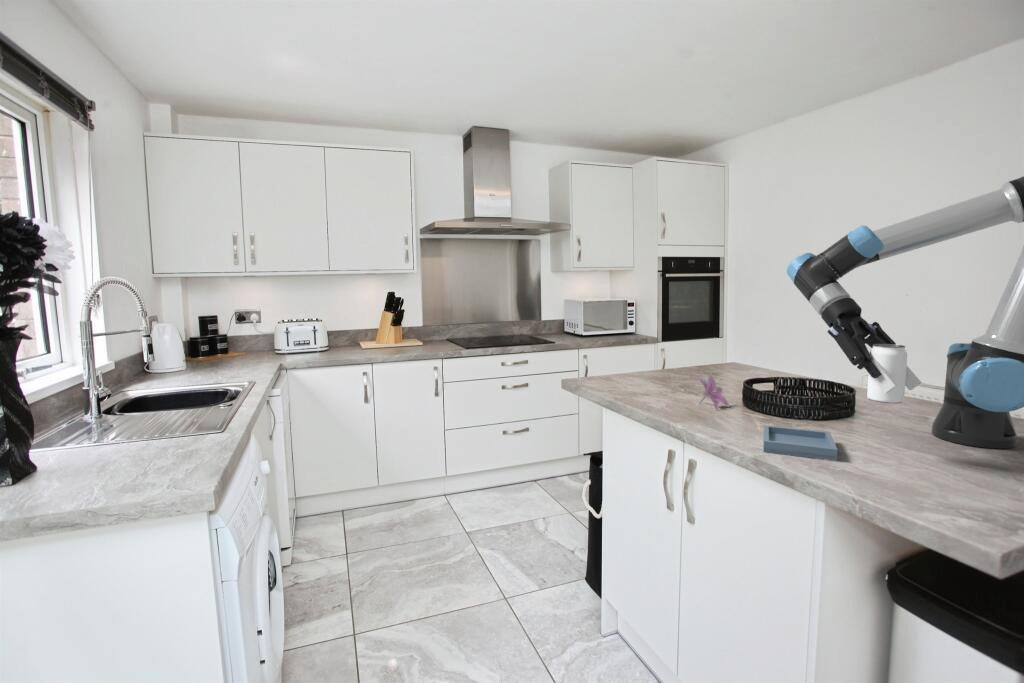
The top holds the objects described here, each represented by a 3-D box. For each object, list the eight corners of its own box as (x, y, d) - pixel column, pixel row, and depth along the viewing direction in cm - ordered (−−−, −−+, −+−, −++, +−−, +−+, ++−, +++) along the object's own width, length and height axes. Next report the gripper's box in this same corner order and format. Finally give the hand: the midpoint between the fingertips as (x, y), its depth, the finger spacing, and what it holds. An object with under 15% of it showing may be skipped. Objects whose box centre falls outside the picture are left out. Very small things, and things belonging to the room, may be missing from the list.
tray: (829, 442, 121) (829, 432, 120) (836, 461, 108) (837, 449, 108) (763, 435, 127) (764, 425, 126) (763, 451, 114) (764, 441, 114)
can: (910, 404, 106) (914, 347, 105) (875, 403, 107) (879, 347, 106) (893, 397, 112) (897, 343, 111) (861, 396, 114) (864, 343, 112)
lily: (695, 414, 151) (713, 389, 147) (678, 392, 161) (694, 367, 157) (726, 423, 154) (744, 398, 150) (707, 400, 164) (724, 376, 161)
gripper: (854, 316, 125) (921, 393, 112) (794, 319, 119) (856, 401, 106) (877, 294, 120) (950, 374, 106) (815, 296, 114) (884, 381, 100)
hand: (903, 387), depth 106 cm, fingers closed on can, 6 cm apart
